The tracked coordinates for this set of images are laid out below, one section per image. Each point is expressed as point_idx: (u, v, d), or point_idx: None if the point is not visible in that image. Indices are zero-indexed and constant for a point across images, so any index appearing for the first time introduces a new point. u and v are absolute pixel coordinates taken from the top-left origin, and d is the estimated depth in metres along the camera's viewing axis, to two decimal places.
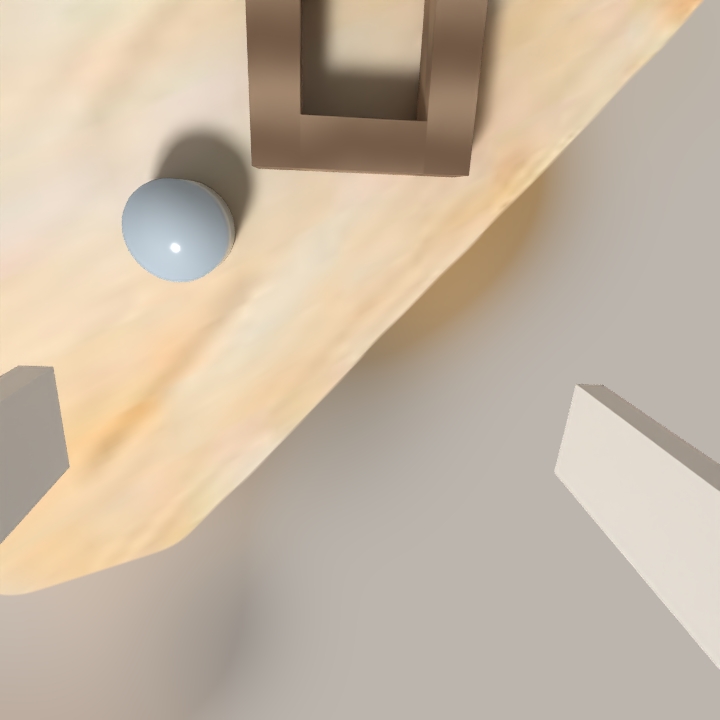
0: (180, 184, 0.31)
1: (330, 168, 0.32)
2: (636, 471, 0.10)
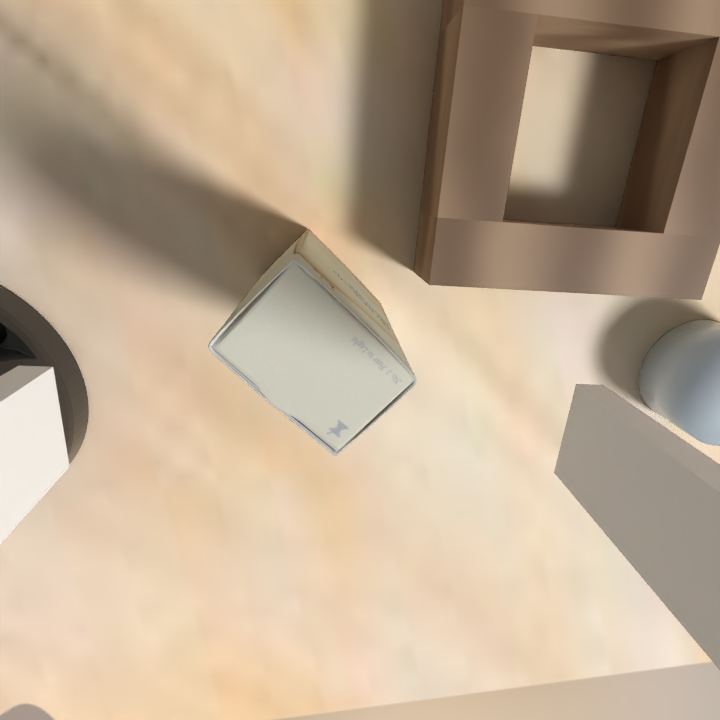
0: (693, 382, 0.27)
1: None
2: (636, 471, 0.10)
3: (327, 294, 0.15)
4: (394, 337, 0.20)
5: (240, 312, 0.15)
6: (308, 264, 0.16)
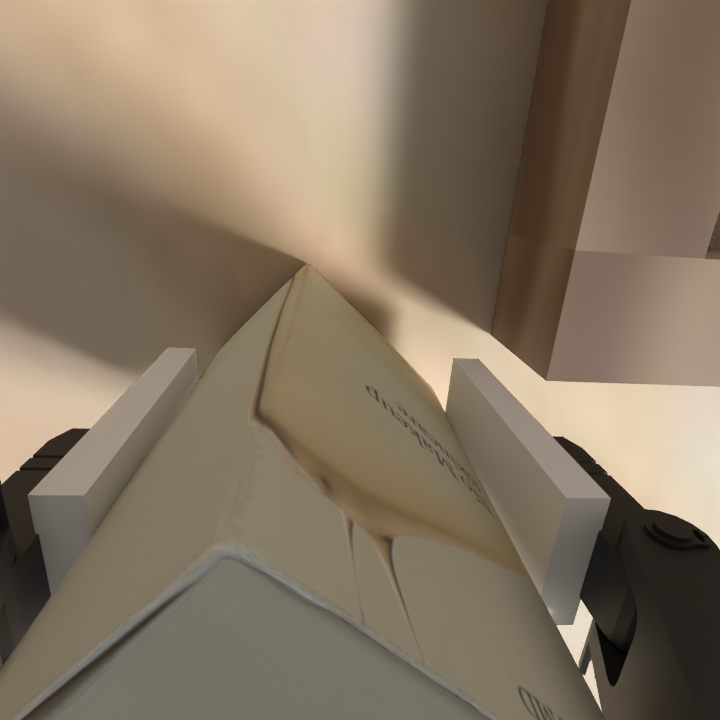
0: None
1: None
2: (480, 429, 0.11)
3: (383, 653, 0.03)
4: (507, 540, 0.09)
5: None
6: (301, 482, 0.04)
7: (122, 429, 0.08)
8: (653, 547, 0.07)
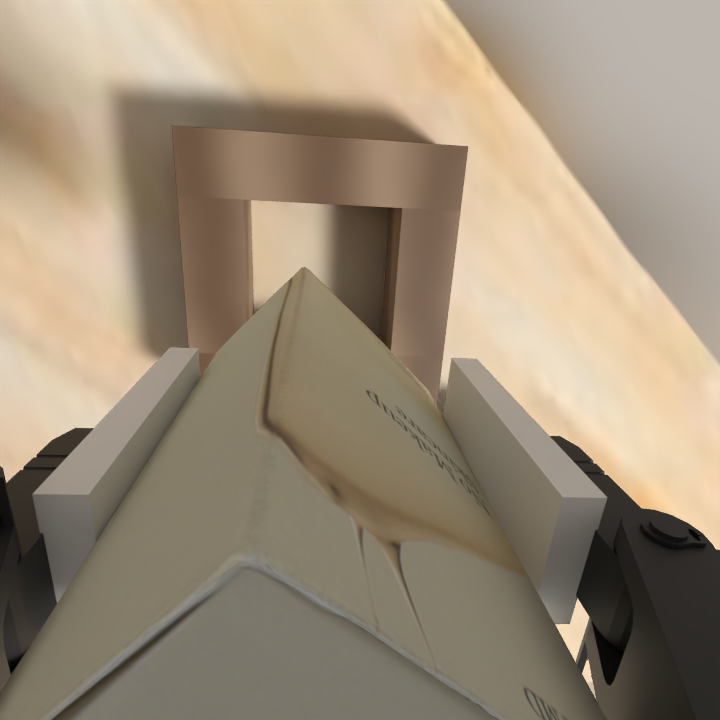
0: None
1: (445, 324, 0.28)
2: (478, 429, 0.11)
3: (395, 658, 0.03)
4: (506, 541, 0.09)
5: None
6: (312, 490, 0.04)
7: (125, 429, 0.08)
8: (649, 546, 0.07)
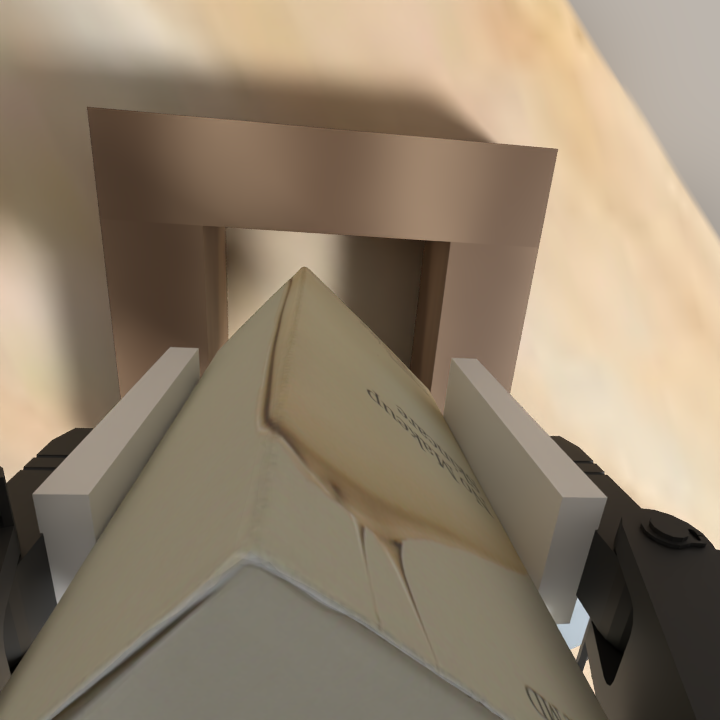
0: None
1: None
2: (478, 429, 0.11)
3: (397, 656, 0.03)
4: (507, 540, 0.09)
5: None
6: (313, 489, 0.04)
7: (125, 429, 0.08)
8: (649, 546, 0.07)
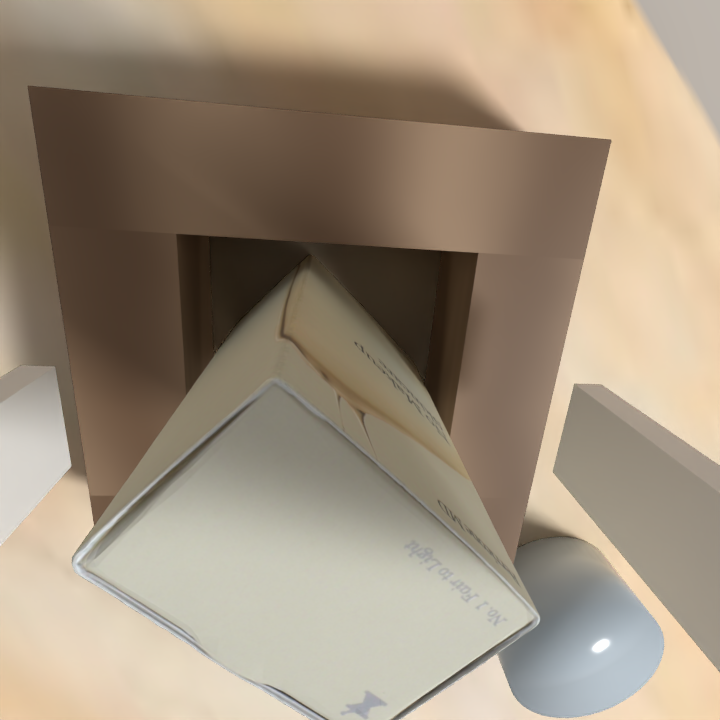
0: (520, 654, 0.20)
1: (537, 447, 0.16)
2: (633, 470, 0.10)
3: (354, 451, 0.06)
4: (458, 460, 0.11)
5: (144, 492, 0.06)
6: (310, 369, 0.07)
7: None
8: None
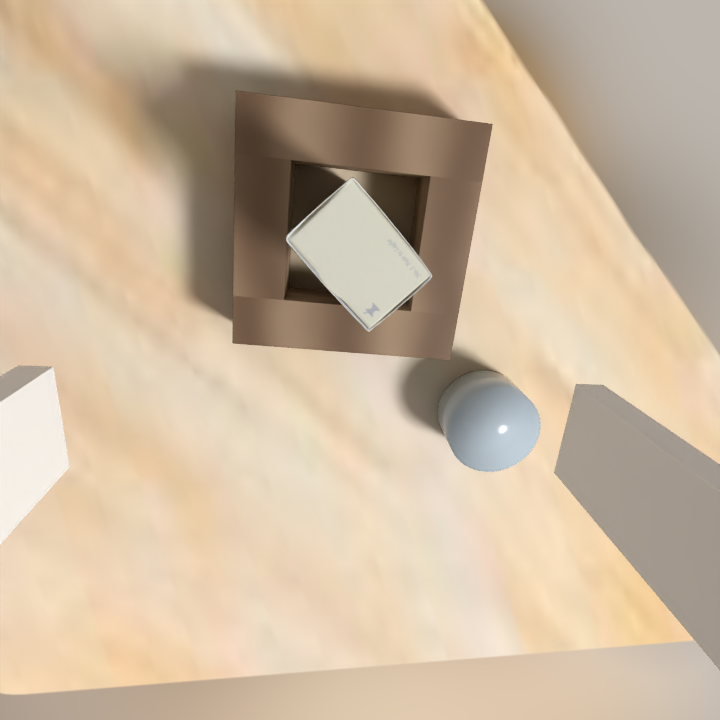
0: (456, 421, 0.34)
1: (462, 285, 0.31)
2: (636, 471, 0.10)
3: (373, 204, 0.21)
4: None
5: (311, 214, 0.21)
6: None
7: None
8: None
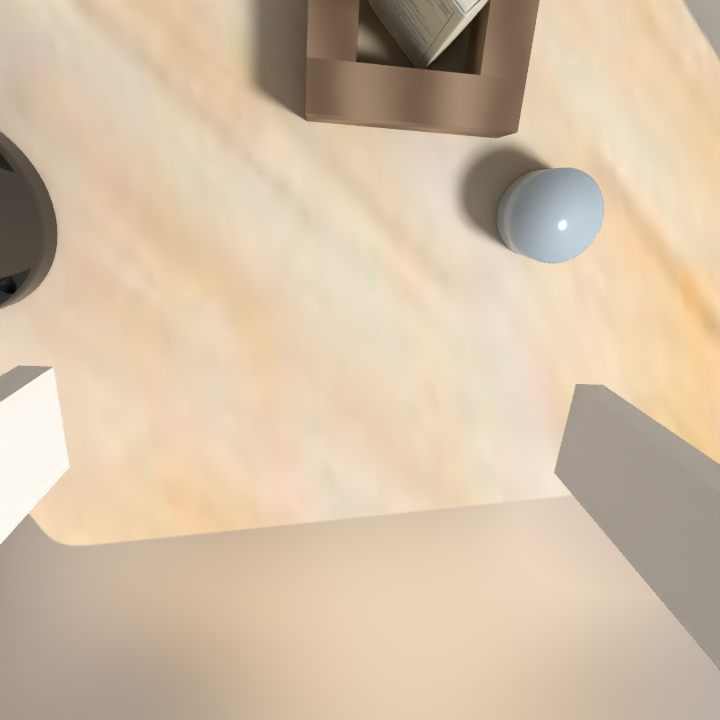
0: (521, 205, 0.35)
1: (530, 45, 0.31)
2: (636, 471, 0.10)
3: None
4: None
5: None
6: None
7: None
8: None
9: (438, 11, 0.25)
